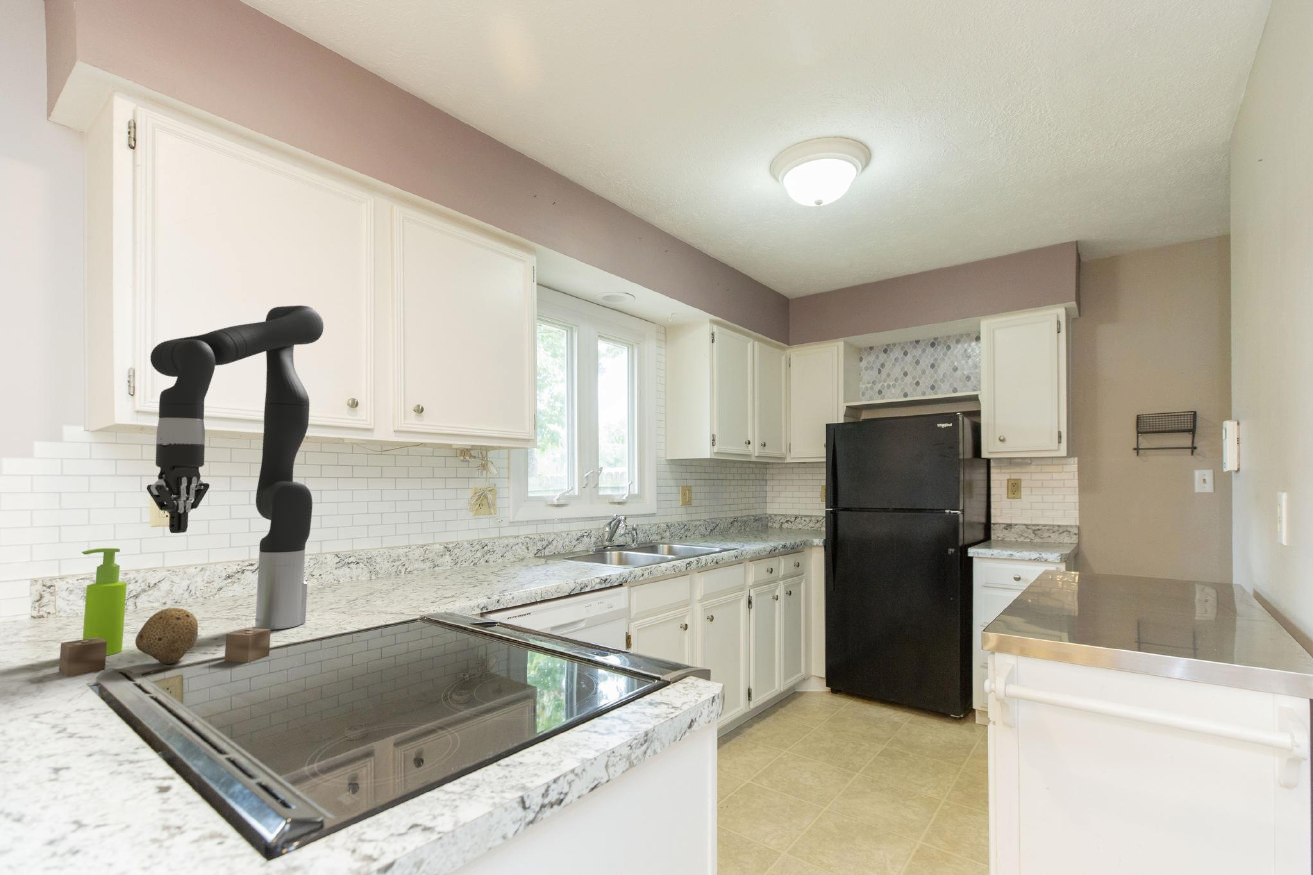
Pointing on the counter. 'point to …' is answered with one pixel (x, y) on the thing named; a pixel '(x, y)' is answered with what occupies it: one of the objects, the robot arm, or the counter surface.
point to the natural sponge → (168, 635)
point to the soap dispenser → (106, 603)
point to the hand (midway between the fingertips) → (178, 532)
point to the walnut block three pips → (82, 656)
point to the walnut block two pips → (247, 645)
